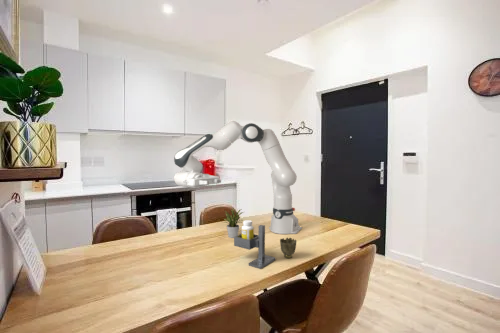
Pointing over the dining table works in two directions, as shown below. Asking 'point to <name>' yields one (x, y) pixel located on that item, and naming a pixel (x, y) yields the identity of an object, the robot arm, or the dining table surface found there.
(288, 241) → the cup
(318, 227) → the dining table surface
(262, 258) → the cup bracket
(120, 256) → the dining table surface
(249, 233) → the supplement bottle
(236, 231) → the house plant
